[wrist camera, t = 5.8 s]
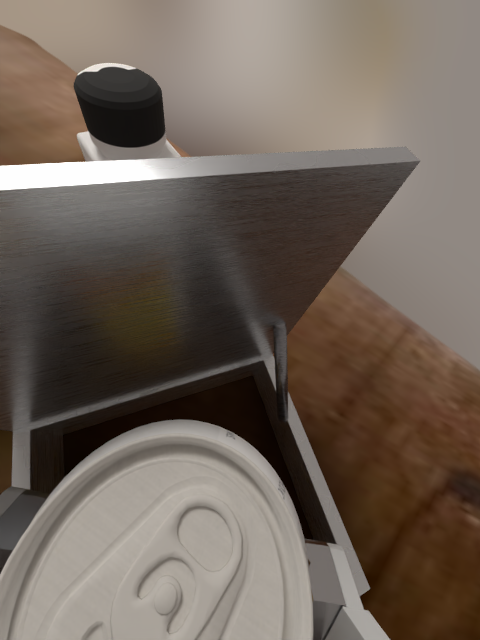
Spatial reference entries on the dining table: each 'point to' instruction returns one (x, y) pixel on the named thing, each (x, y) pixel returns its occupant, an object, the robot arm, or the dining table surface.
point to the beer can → (162, 546)
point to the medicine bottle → (121, 114)
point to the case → (173, 291)
